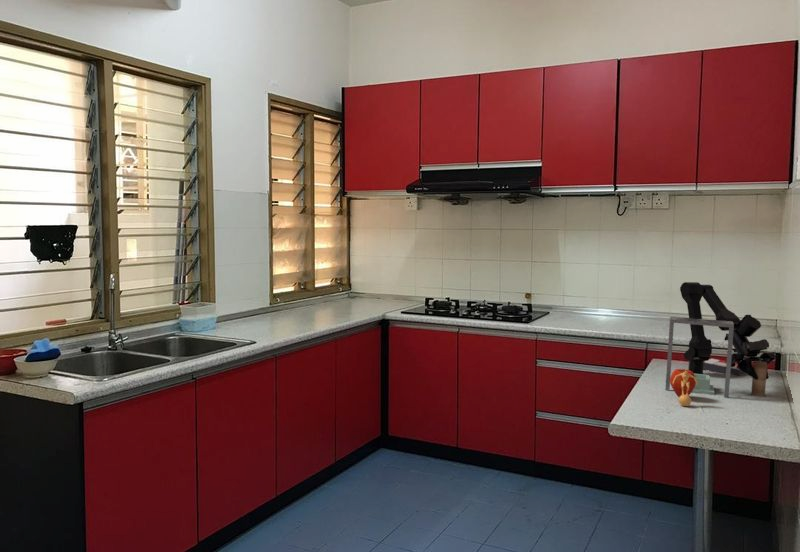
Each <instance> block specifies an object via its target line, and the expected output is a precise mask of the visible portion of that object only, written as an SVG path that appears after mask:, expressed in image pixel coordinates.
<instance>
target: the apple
mask: <svg viewBox="0 0 800 552" xmlns="http://www.w3.org/2000/svg"><path fill="white" fill-rule="evenodd" d="M685 371H687V372H688V374H690V375H692V376H694V377H695V375H694V373H693V372H692V371H689V370H688V369H685V368H682V369H681V368H679V369H677V368H676V369H674V370H673V371H672V372H671V375H670V386H671V388H672V390H673V392H674V393H675V395H676V396H677V397H678V398H679V397H680V396H681V395H682V386H681V381H683V377H682V376H678V377H676V379H675V381H674V384H672V383H673V380H674V378H675V376H676V375H679V374H681V373H683V372H685ZM688 381H689V382H690V383H689V386H690V387H689V390H688V396H689V397H690V394H692V393H693V392H692V391H693V389H694V387H695V384H696V381H695V379H694V378H692V377H689V378H688ZM688 381H687V382H688ZM683 388H684V390H683V391H684V395H686V392H687V389H688V388H687V386H686V384H685V386H684V387H683Z"/></svg>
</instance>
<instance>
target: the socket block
mask: <svg viewBox="0 0 800 552" xmlns="http://www.w3.org/2000/svg"><path fill="white" fill-rule="evenodd" d="M694 375H695V378H696V380H697V382H698V386H697V383H696V384H695V387H694V389H693V391H692V392H691V393H695V392H697V394H703V393H704V394H706V395H714V396H715V389H714V384H711V379H710V378H711V377H710V375H709V374H705V375H703V374H694ZM704 394H703V395H704Z"/></svg>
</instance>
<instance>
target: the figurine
mask: <svg viewBox="0 0 800 552" xmlns="http://www.w3.org/2000/svg"><path fill="white" fill-rule="evenodd" d="M678 376H682V377H683V381H681V386H682V395H681V396H680V397H678V403H679V404H680V405H681V406H683V407H687V406H690V405H691V404H692V398H691V397H690V395H689V396H688V390H689V387H690V386H689V383H690V382H689V381H688V378H689V377H692V378H694V379H695V381H696V383H697V386H698V382H697V380H696V378H695V377H694V376H692V375H690V374H688V372H687V371H685V372H683V373H681V374H679V375H676V376H675V378H674V380H673V383H672V384H674V381H675V379H676V377H678ZM687 381H688V382H687ZM685 384H686V386H687V388H688V389H687V392H686V395H684V391H683V390H684V388H683V387H684V386H685Z"/></svg>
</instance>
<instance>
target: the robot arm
mask: <svg viewBox="0 0 800 552" xmlns="http://www.w3.org/2000/svg"><path fill="white" fill-rule="evenodd" d="M679 290H680V294H681V297H682V299H683V300H684V302H685V303H686V306H687V314H688V318H695V319H703V316H702V315H703V314H702V309H701V303H700V302H701V301H702V297H703V299H704V300H705V302H706V304H707V305H708V307H709V308H710V309H711V311H712V312H713V314H714V315H715V320H720V321H733V323H734V331H733V345H732V347H733V349H732V358H731V367H734V366H735V363H738V366H737V367H736V368H737V369H740V370H742V371H743V372H745V373H744V374H746V375H748V376H749V377H751V378H754V379H755V380H757V379H758V376H757V374H756V372H755V370H754V368H753V365H752V363H754V361H762V362H766V363H767V366H768V365H770V364H771V363H772V362H773V361H775V360H776V359H777V356H776V354H775V352H773V351H769V352H768V351H766V350H768V348H769V347H770V343H769V341H768V340H767V339H765V338H763V339H760V340H755V341H750V340H749V339H748V338H750V337H752V336H753V335H754V334H755V333H756V332H757V331H758V330H760V328H761V327H762V323H761V322H760V320H758V319H757V318H755V316H754V317H753V316H752V315H751V314H745V315H744V316H743V318H742V319H740V318H739V317H738V316H737V315H736V314H735V312H732V311H731V310H729V309H728V308H727V307H726V305H725V304H724V302H723V301H722V300H721V298H720V297H719V295H718V294H717V292H716V291H715V290H714V287H713V285H711V284H701V283H700V282H697V281H696V282H695V281H693V282H690V281H689V282H688V281H684V282H683V283H681V286H680V288H679ZM689 326H690V327H689V328H690V333H691V334H690V335H691V338H690V340H689V343H688V349H687V350H686V351H685V352H684V353H683V358H684V360H687V361H688V366H687V370H689V371H692V372H693V373H694V374H703V375H706V374H705V373H704V370H703V365H704V362H705V361H708V360H709V359H711V358H710V357H711V354H712V353H713V346H712V340H711V338H709V339H708V338H707V336H705V328H704V325H695V324H689ZM717 327H718V328H719V330H721V331H722V332H723V331H726V332H728V333H725V336H724V341H728V336H729V327H719V326H717ZM761 351H766V352H763V353H761ZM725 361H726V364H727V358H726V360H725ZM768 379H769V372H768V370H767V373H766V380H768Z"/></svg>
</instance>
